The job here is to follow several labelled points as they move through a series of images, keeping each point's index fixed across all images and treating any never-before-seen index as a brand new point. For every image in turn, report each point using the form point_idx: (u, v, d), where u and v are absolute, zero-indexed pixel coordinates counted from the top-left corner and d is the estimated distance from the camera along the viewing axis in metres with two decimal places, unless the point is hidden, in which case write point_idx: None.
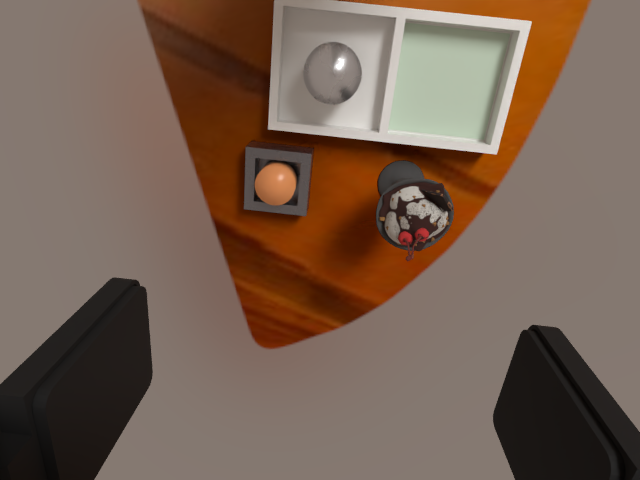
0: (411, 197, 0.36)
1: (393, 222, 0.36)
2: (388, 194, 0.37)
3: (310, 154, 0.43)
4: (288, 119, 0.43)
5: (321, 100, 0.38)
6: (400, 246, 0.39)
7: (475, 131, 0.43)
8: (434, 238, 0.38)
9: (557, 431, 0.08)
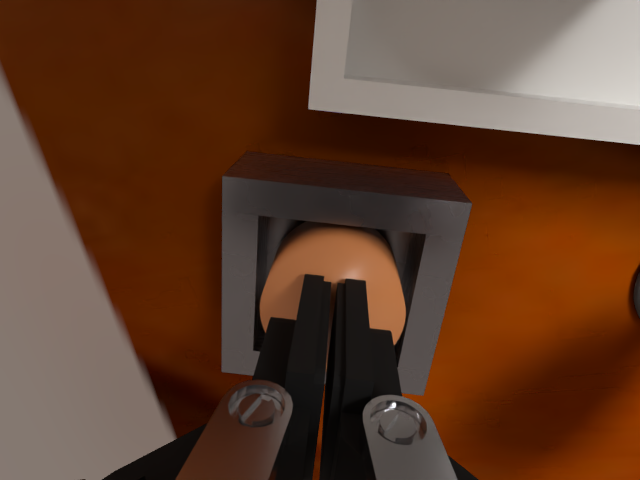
0: None
1: None
2: None
3: (465, 204, 0.11)
4: (378, 75, 0.12)
5: None
6: None
7: None
8: None
9: (331, 362, 0.09)
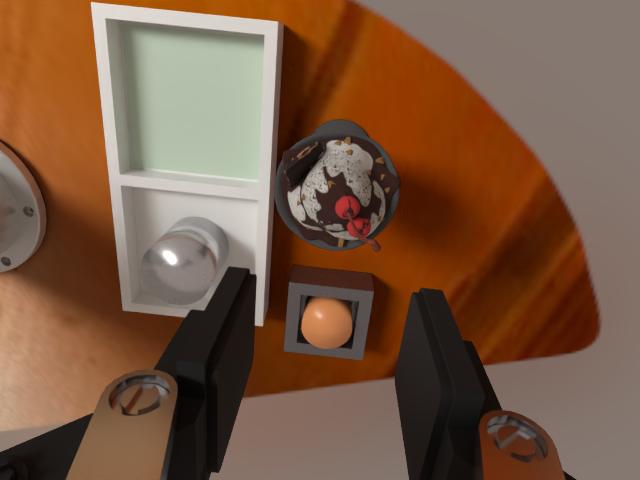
0: (299, 207, 0.22)
1: (339, 235, 0.23)
2: (303, 232, 0.24)
3: (289, 283, 0.33)
4: None
5: (207, 287, 0.30)
6: (391, 210, 0.23)
7: (254, 54, 0.29)
8: (378, 157, 0.22)
9: (421, 374, 0.09)
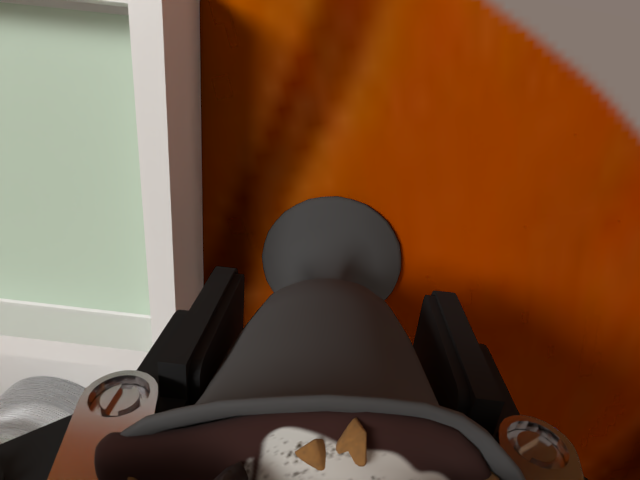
0: None
1: None
2: None
3: None
4: None
5: None
6: None
7: (127, 55, 0.12)
8: None
9: (436, 378, 0.09)
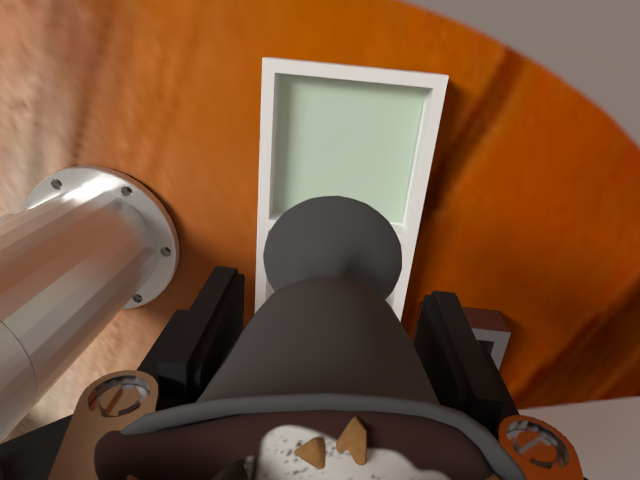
0: None
1: None
2: None
3: None
4: None
5: None
6: None
7: (412, 103, 0.29)
8: None
9: (436, 378, 0.09)
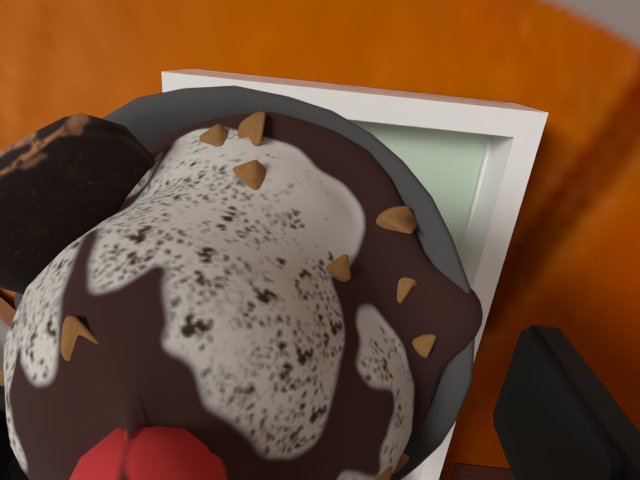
0: None
1: None
2: None
3: None
4: None
5: None
6: (440, 420, 0.06)
7: (461, 160, 0.15)
8: (389, 206, 0.05)
9: (557, 431, 0.08)
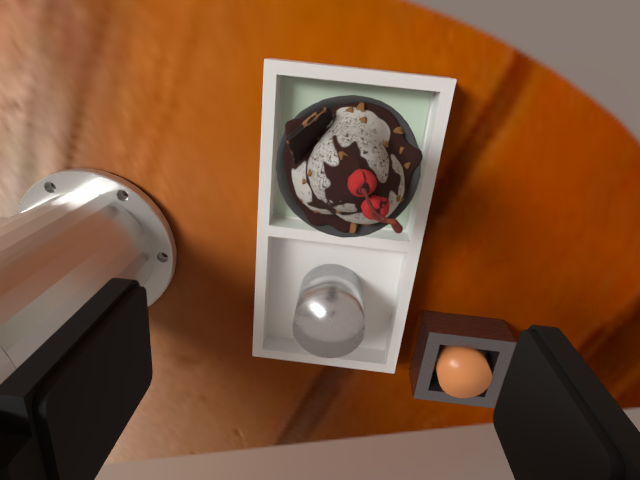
0: (305, 186, 0.19)
1: (351, 219, 0.19)
2: (309, 216, 0.21)
3: (429, 333, 0.33)
4: (385, 341, 0.36)
5: (359, 341, 0.30)
6: (411, 190, 0.20)
7: (417, 107, 0.28)
8: (396, 126, 0.19)
9: (557, 431, 0.08)
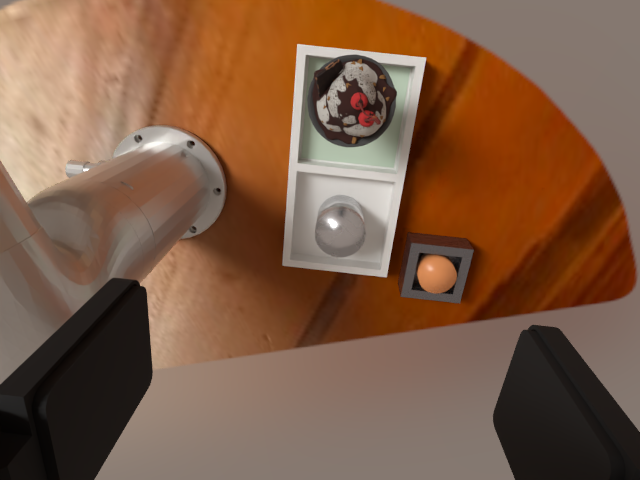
0: (325, 110, 0.32)
1: (352, 130, 0.32)
2: (326, 133, 0.33)
3: (411, 243, 0.46)
4: (380, 255, 0.48)
5: (361, 243, 0.43)
6: (390, 116, 0.32)
7: (401, 78, 0.41)
8: (381, 74, 0.31)
9: (557, 431, 0.08)
